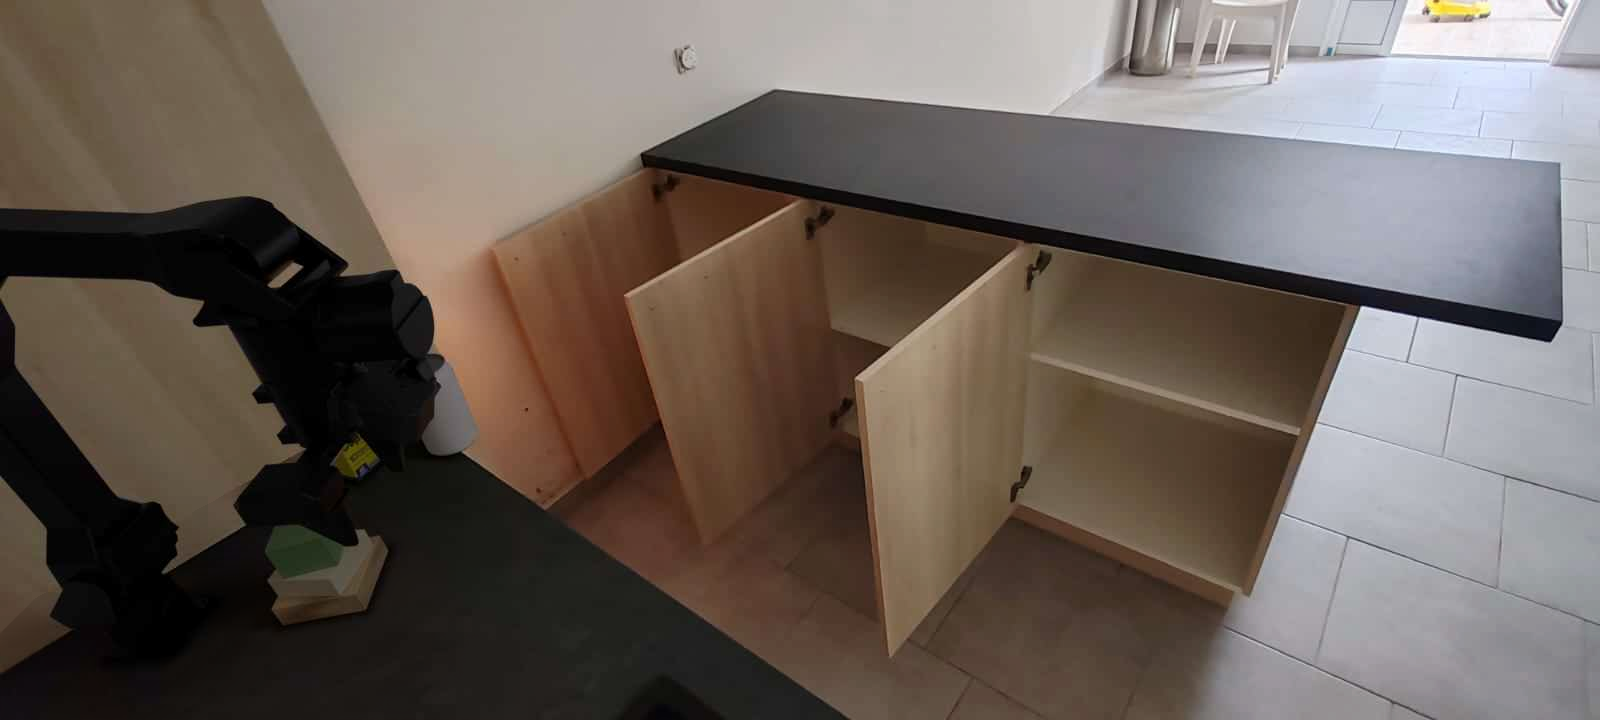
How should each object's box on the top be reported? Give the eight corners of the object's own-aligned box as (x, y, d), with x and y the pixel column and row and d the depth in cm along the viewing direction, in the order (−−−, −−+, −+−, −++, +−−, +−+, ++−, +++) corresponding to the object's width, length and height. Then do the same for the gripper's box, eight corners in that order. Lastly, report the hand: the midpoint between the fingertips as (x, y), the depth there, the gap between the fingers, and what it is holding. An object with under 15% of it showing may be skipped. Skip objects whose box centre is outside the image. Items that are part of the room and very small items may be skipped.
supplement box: (359, 483, 91) (321, 413, 85) (323, 475, 93) (283, 406, 87) (395, 452, 96) (361, 383, 90) (360, 444, 98) (324, 377, 92)
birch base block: (282, 625, 74) (270, 609, 73) (312, 564, 81) (302, 548, 79) (365, 610, 75) (355, 594, 74) (388, 550, 82) (379, 535, 80)
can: (461, 459, 94) (427, 382, 87) (416, 455, 95) (380, 379, 88) (489, 427, 99) (459, 352, 92) (446, 424, 100) (413, 350, 93)
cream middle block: (278, 597, 74) (266, 580, 73) (316, 547, 79) (305, 530, 78) (340, 595, 74) (329, 579, 72) (374, 545, 79) (364, 529, 78)
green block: (283, 579, 73) (264, 551, 70) (296, 543, 77) (278, 515, 74) (338, 565, 74) (321, 537, 71) (348, 530, 78) (332, 502, 75)
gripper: (343, 431, 50) (424, 584, 59) (446, 296, 65) (498, 433, 74) (180, 443, 50) (286, 593, 59) (321, 305, 66) (388, 440, 74)
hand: (376, 505), depth 67 cm, fingers open, 9 cm apart
